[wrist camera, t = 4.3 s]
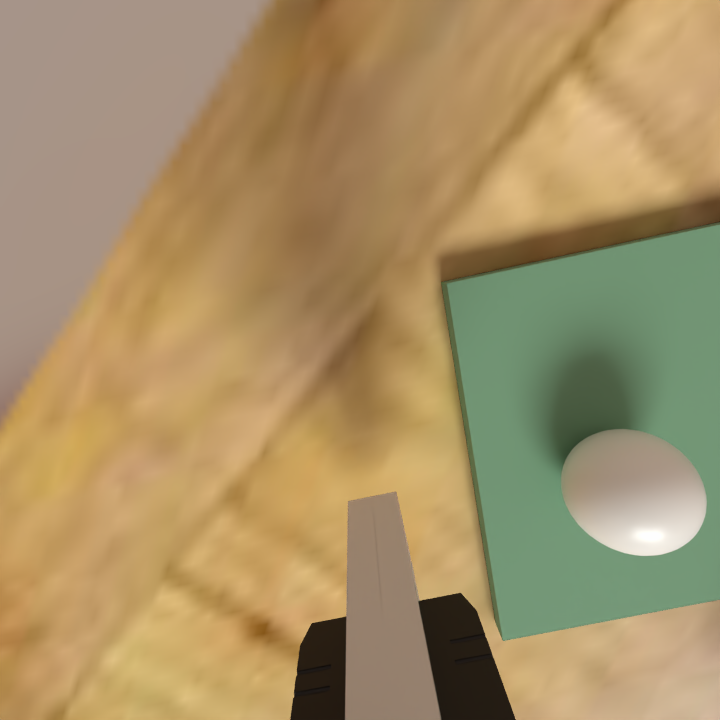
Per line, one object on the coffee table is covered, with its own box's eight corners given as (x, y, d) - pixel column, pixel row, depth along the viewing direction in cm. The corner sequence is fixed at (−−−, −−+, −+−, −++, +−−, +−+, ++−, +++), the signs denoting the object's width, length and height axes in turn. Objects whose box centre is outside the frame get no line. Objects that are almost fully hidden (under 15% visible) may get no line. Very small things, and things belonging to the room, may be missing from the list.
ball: (545, 515, 14) (609, 597, 11) (535, 423, 13) (601, 480, 10) (646, 495, 14) (744, 572, 11) (642, 401, 13) (746, 451, 10)
